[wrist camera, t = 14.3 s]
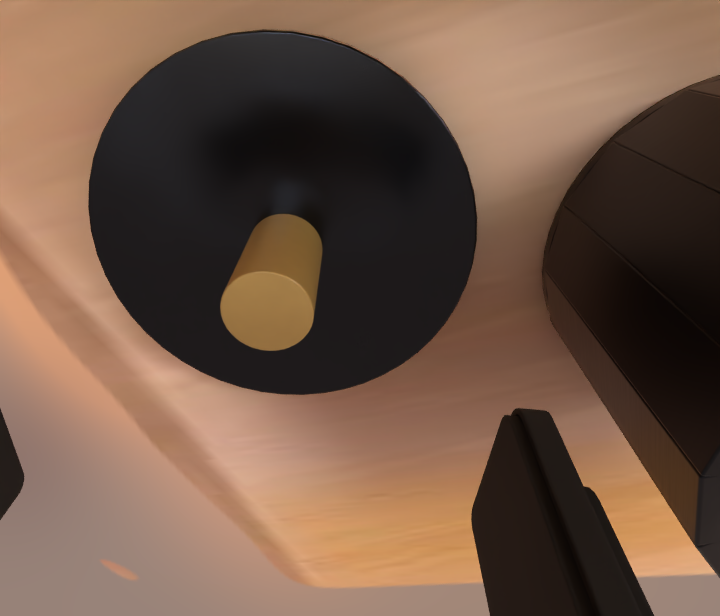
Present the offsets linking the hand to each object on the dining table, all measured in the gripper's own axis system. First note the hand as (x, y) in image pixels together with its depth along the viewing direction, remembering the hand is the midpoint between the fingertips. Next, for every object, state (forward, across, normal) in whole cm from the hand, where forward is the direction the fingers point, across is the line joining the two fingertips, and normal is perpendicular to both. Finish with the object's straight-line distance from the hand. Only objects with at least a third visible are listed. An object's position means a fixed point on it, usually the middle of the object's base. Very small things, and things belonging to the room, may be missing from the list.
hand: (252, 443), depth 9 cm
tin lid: (+10, +1, 0) cm, 10 cm away
